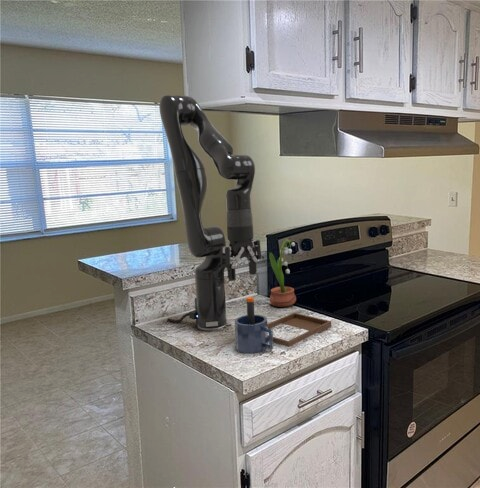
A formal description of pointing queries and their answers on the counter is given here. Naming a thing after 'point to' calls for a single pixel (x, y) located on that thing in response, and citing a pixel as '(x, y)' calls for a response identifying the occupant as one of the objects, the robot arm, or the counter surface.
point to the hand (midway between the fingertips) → (242, 277)
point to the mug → (253, 335)
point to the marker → (250, 310)
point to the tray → (301, 322)
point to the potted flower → (281, 280)
